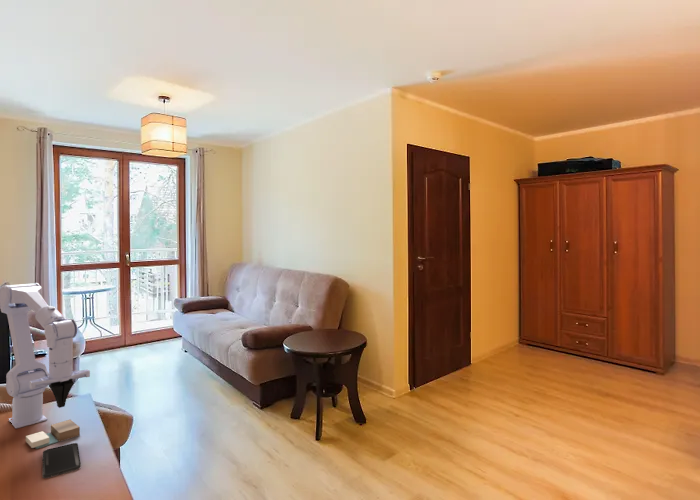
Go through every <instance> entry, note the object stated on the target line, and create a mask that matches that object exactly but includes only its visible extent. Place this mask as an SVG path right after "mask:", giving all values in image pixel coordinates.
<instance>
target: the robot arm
mask: <svg viewBox="0 0 700 500" xmlns="http://www.w3.org/2000/svg"><path fill="white" fill-rule="evenodd" d="M31 310H32V311H33V312H34V313H35V321H37V322H38V324H40V326H41V327H42V328H43V329H44V337H45V339H46V346H47V348H48V370H47V366H46V364H45V363H43V362H42V361H38V360H36V355H35V350H34V344H33V338H32V334H31V333H32V332H31V328H30V323H29V317H28V316H29V315H28V313H29V311H31ZM0 312H1V313H3V314H6V317H7V322H8V326H9V331H10V332H9V333H10V339H11V345H12V349H13V350H12V351H13V354H14V355H13V356H14V361H15V365H13V367H12V368H11V369H9V371H8V372H7V373H6V374H5V375H6V377H5V378H6V383H5V389H6V392H7V395H8V396H11V397H13V398H12V404H11V405H12V407H11V409H12V410H11V411H12V415H11V417H10V418H8V419H9V420H8V421H9V423H10V422H11V423H12V424H11V423H10V424H11V425H12V426H13V427H14V429H20V428H24V427H27V426H31V425H34V424H38V423H42V422H46V421H47V420H48V418H47V417H46V416H45V415H44V412H43V410H44V409H43V408H44V405H43V404H44V403H43V402H44V398H43V397H44V394H43V393H44V392H45V391H46V388H47V387H49V389H50V390H51V392H52V393H53V396H54V399H55V401H56V406H57V407H58V408H59V409H60V408H63V407H64V408H65V407H66V402H67V399H68V396H69V393H70V391H71V390H72V388H73V386H74V381H73V380H78V379H81V378H90V376H91V371H90V369H82V370H80V369H79V370H74V369H73V368H74V367H73V362H74V361H73V360H74V356H73V354H74V351H73V350H74V348H73V347H74V344H73V343H74V342H73V341H74V338H75V337H77V335H78V334H77V333H78V324H77V323H76V321H75V320H74V318H69V317H65V316H64V315H63V314H62V313H61V312H60V311H59V310H58V308H56V307H55V306H54V305H48V303H47V301H46V300H45V299H44V297H43V288H42V286H41V285H40V283H38V282H33V283H21V284H19V283H18V284H3V285H2V286H1V287H0ZM11 419H12V420H11Z"/></svg>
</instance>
